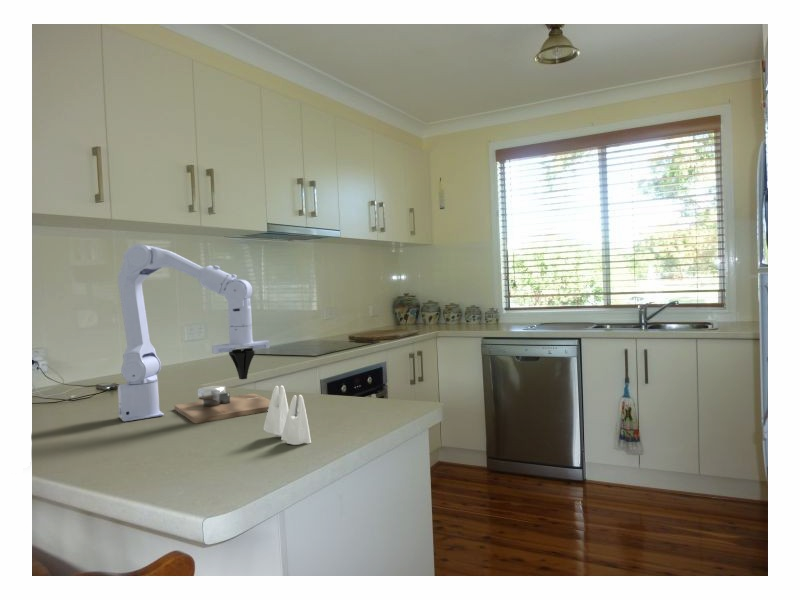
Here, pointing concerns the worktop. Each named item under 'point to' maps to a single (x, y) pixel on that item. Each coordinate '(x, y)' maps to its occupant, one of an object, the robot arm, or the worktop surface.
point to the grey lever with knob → (214, 394)
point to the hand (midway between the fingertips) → (243, 378)
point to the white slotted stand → (287, 418)
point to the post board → (223, 408)
